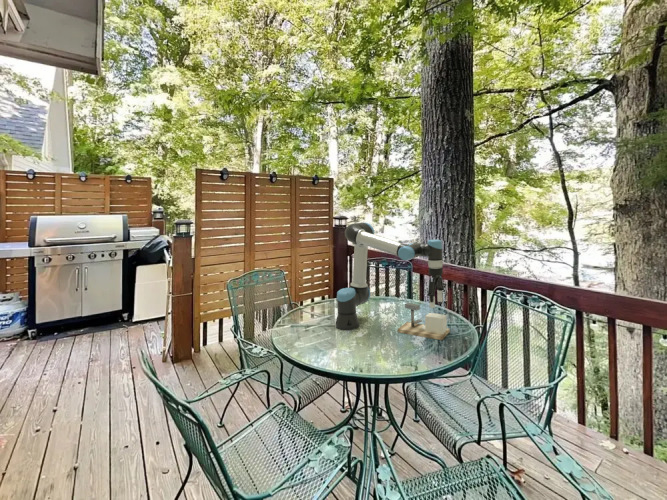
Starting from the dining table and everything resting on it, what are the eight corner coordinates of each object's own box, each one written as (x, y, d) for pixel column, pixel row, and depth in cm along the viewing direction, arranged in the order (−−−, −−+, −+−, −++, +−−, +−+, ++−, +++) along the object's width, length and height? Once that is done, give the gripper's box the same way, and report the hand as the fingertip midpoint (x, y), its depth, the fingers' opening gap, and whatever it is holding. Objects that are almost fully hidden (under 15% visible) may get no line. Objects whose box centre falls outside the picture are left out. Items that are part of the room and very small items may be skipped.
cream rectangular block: (420, 330, 194) (420, 315, 193) (424, 326, 200) (424, 312, 199) (443, 334, 186) (442, 318, 185) (446, 330, 192) (446, 315, 191)
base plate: (397, 332, 198) (397, 328, 198) (407, 325, 210) (406, 321, 210) (442, 340, 184) (442, 336, 183) (449, 332, 195) (449, 328, 195)
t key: (416, 328, 196) (416, 306, 194) (405, 325, 202) (404, 303, 200) (426, 324, 202) (426, 302, 201) (415, 321, 208) (414, 300, 207)
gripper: (434, 271, 176) (435, 311, 178) (448, 264, 196) (449, 299, 198) (420, 270, 180) (422, 309, 182) (436, 263, 200) (436, 298, 202)
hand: (436, 304), depth 190 cm, fingers open, 13 cm apart
